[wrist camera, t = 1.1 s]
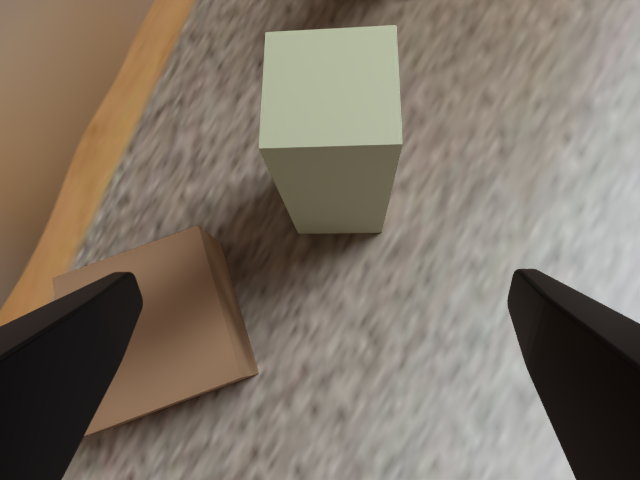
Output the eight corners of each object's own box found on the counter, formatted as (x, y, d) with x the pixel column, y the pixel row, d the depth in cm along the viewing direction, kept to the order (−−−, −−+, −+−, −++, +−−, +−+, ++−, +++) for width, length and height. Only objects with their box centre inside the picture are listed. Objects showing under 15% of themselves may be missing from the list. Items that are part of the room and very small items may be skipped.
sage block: (381, 232, 24) (402, 144, 14) (298, 233, 24) (258, 148, 14) (378, 156, 25) (396, 24, 15) (300, 159, 25) (265, 32, 15)
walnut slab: (260, 373, 22) (241, 377, 18) (125, 423, 22) (77, 438, 18) (222, 245, 25) (198, 225, 21) (99, 289, 24) (52, 278, 21)
